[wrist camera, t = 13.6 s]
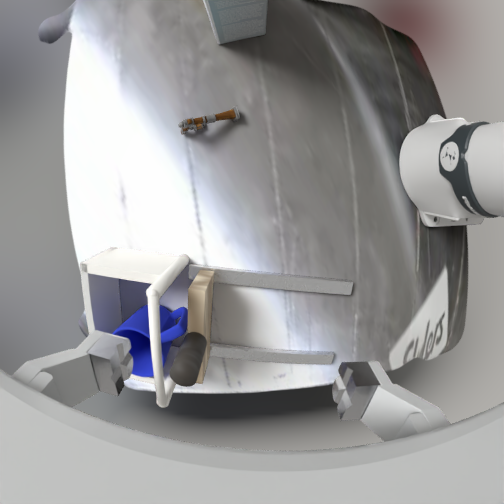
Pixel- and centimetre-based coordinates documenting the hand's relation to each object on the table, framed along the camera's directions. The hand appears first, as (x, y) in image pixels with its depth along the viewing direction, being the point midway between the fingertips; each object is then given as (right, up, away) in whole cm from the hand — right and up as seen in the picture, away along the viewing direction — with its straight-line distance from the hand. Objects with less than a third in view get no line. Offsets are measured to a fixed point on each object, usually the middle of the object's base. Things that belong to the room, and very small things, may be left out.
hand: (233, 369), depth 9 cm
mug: (-13, -6, +32) cm, 35 cm away
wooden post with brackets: (-5, +22, +25) cm, 34 cm away
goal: (-16, -4, +31) cm, 35 cm away
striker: (-6, -5, +30) cm, 31 cm away
